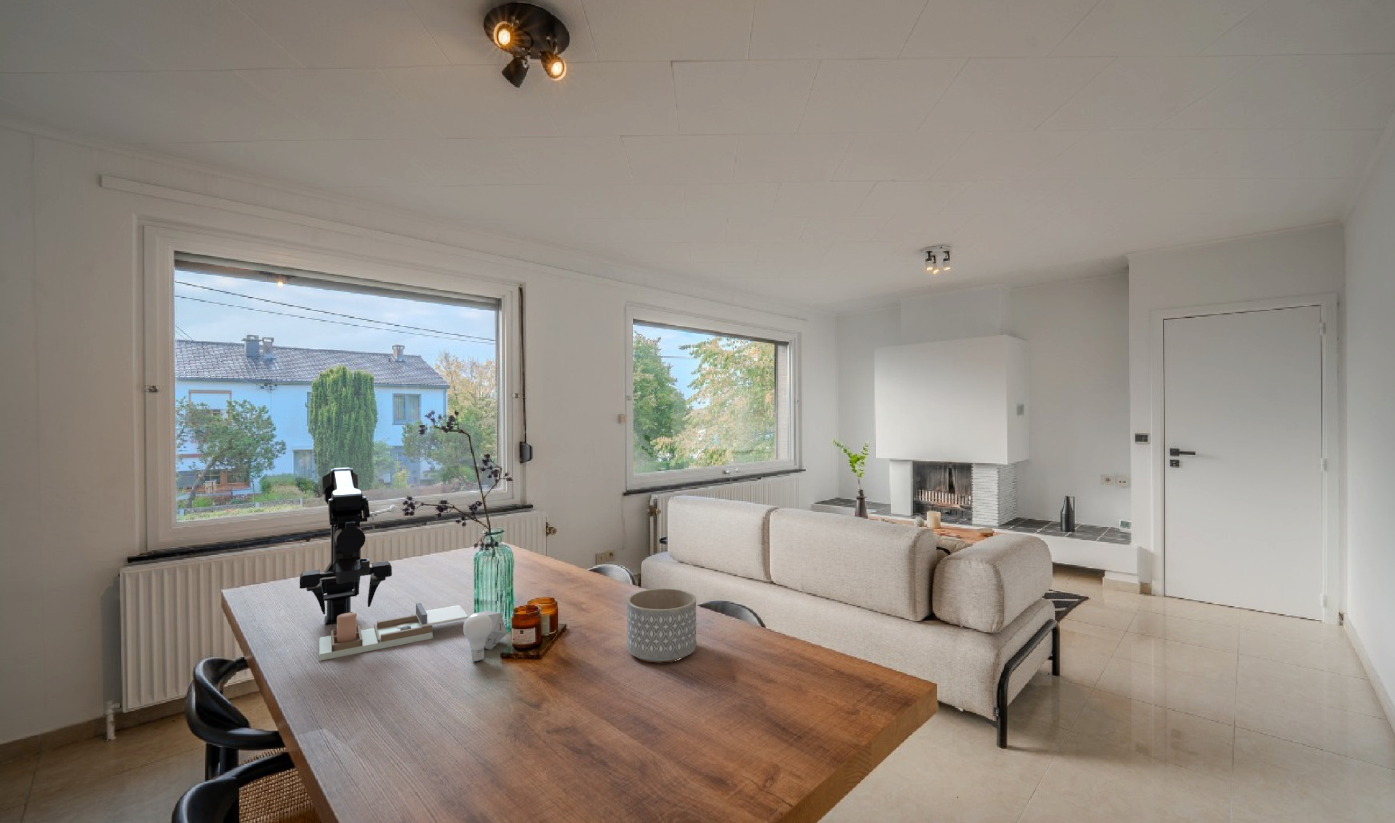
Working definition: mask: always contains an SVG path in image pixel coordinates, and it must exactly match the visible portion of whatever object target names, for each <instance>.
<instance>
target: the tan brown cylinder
mask: <svg viewBox="0 0 1395 823" xmlns="http://www.w3.org/2000/svg"><path fill="white" fill-rule="evenodd" d="M357 618H358V617H357V612H352V613H344V614H341V615H339V616H337V623H336V629H337V644H338V643H344V642H349V641H354V640H356V625H357Z"/></svg>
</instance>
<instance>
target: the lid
mask: <svg viewBox="0 0 1395 823" xmlns="http://www.w3.org/2000/svg"><path fill="white" fill-rule="evenodd" d="M415 615H416V616H417V618H418V620H419V622H420V624H421V626H422V627H425V626H431V625H432V626H435V625H441V624H446V623H451V622H452V623H453V622H458V621H464V620H466V619H467V618H468V617H469V616H468V614H467V613H466V612H465V610H464V609H463V607H461V605H460V604H457V605H451V606H445V607H439V608H433V609H429V610H428V609H425V608H424V606H423V604H422V602H417V603H415Z"/></svg>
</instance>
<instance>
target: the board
mask: <svg viewBox="0 0 1395 823" xmlns="http://www.w3.org/2000/svg"><path fill="white" fill-rule="evenodd" d="M318 639H319V644H318V646H319V647H318V648H319V649H318V650H319V653H318V654H319V656H318V657H319V660H318V661H320V662H321V661H326V660H330V659H331V660H332V659H336V658H341V657H345V656H346V657H347V656H351V655H356V654H361V653H366V652H370V651H376V650H380V649H386V648H391V647H396V646H401V645H406V644H411V643H412V644H413V643H416V642H422V641H427V640H431V639H434V638H433V625H431V626H425V627H422V626H421V624H420V622H419V620H418V618H417V616H416V614H413V615H412V614H411V615H406V616H401V617H400V616H399V617H395V618H390V619H383V620H377V621H376V624H374V625H373V627H371V628H366V629H361V624H356V640H354V641H349V642H344V643H338V644H337V628H333V629H330V635H327V636H321V637H319V638H318Z"/></svg>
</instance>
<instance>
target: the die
mask: <svg viewBox="0 0 1395 823" xmlns="http://www.w3.org/2000/svg"><path fill="white" fill-rule="evenodd" d="M480 612H481V613H485V614H487V615H488V616H489V617H490V618H491V620H492V624H493V626H492V631H491V633H490V635H489V636H488V638H487V640H486V644H485V647H484V650H490V651H491V650H493V649H494V647H495V646H497V644H498V643H499V642H501V640H502V639H503V638H504V637H505V636H507V635H508V633H509V632H508V630H507V627H506V624H505V622H504V619H503V617H502V614H501V612H497V611H492V610H485V609H483V611H480Z"/></svg>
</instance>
